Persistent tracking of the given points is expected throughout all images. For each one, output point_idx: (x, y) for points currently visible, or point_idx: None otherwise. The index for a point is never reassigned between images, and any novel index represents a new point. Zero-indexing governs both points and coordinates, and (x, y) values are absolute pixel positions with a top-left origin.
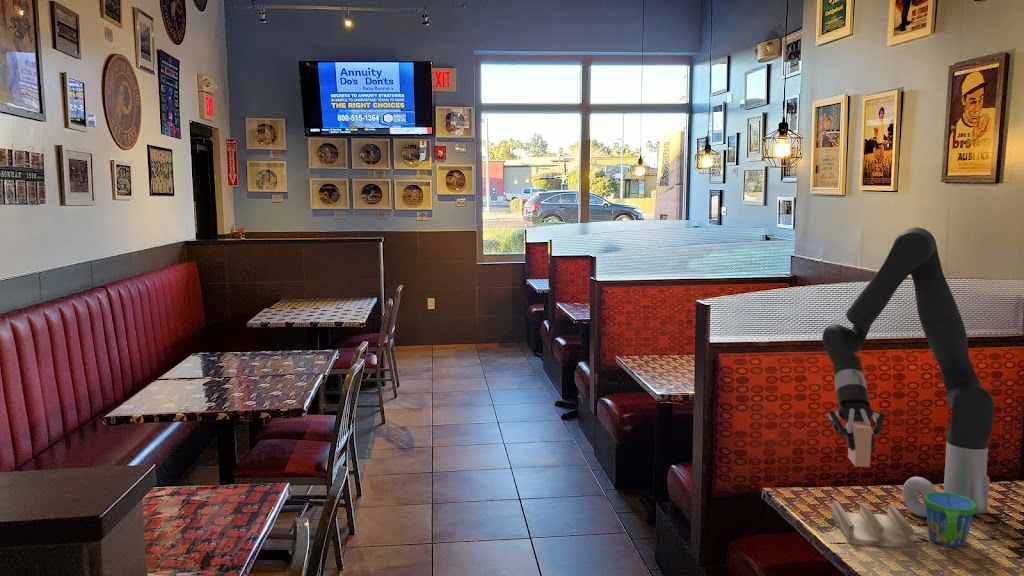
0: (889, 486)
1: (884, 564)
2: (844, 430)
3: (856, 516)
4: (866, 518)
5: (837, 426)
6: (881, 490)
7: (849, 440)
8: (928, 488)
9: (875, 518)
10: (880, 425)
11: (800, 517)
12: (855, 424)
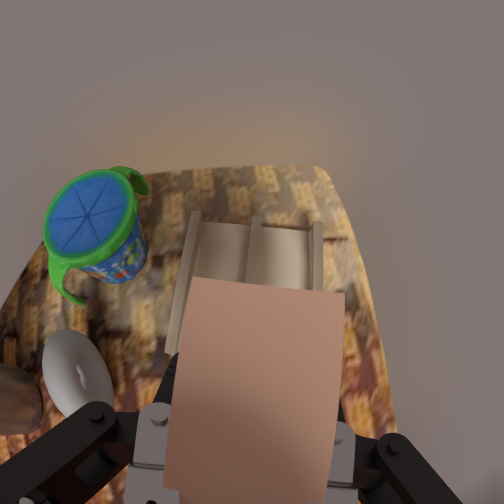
0: None
1: (277, 172)
2: (366, 450)
3: None
4: None
5: (420, 462)
6: None
7: None
8: (60, 340)
9: (249, 261)
10: (53, 439)
11: (379, 355)
12: (321, 413)
